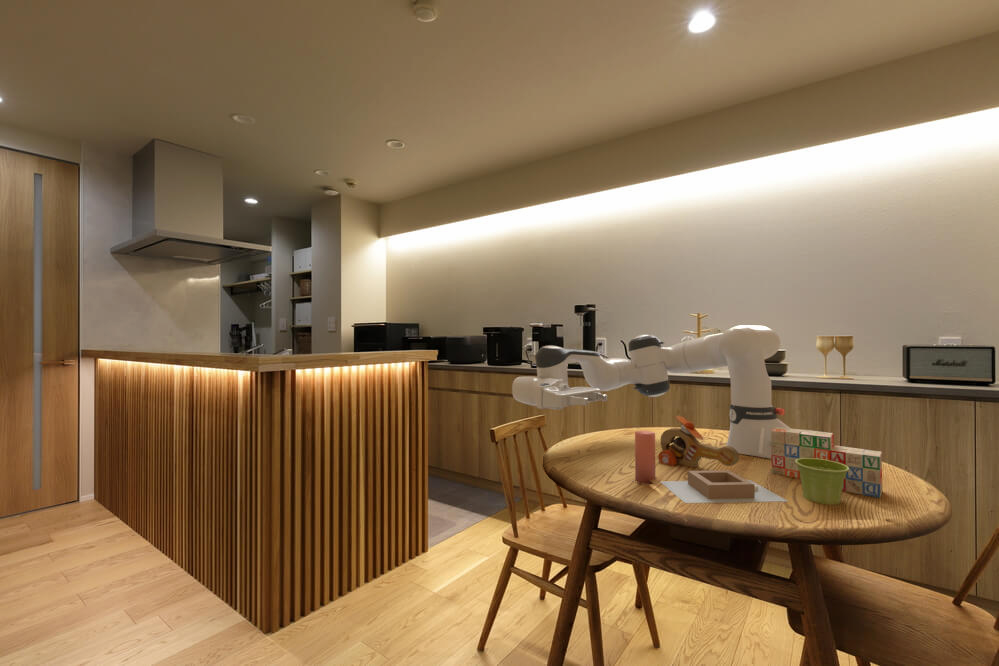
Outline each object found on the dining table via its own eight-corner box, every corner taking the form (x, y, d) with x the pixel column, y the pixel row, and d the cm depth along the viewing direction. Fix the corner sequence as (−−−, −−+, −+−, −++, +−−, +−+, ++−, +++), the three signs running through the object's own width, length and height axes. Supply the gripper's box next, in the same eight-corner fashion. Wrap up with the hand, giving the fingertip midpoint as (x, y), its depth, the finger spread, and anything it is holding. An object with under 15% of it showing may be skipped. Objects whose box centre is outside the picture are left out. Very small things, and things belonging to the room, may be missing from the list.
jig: (749, 484, 109) (749, 467, 109) (788, 506, 95) (788, 486, 95) (659, 486, 109) (659, 468, 109) (685, 508, 95) (685, 488, 95)
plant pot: (853, 504, 97) (852, 463, 97) (845, 517, 90) (844, 473, 90) (801, 493, 103) (801, 455, 103) (790, 504, 97) (790, 464, 97)
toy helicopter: (670, 460, 131) (669, 412, 131) (745, 477, 115) (745, 423, 115) (654, 465, 126) (653, 416, 126) (730, 484, 110) (730, 428, 110)
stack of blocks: (883, 491, 105) (882, 438, 105) (880, 499, 100) (880, 443, 100) (776, 472, 119) (776, 425, 119) (770, 478, 115) (770, 429, 115)
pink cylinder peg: (651, 477, 115) (651, 430, 115) (658, 484, 110) (658, 434, 110) (632, 478, 115) (632, 430, 115) (639, 484, 110) (638, 435, 110)
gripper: (576, 401, 140) (616, 407, 130) (533, 408, 126) (574, 416, 116) (577, 380, 140) (616, 385, 130) (533, 386, 126) (574, 391, 116)
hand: (596, 399), depth 123 cm, fingers open, 8 cm apart
